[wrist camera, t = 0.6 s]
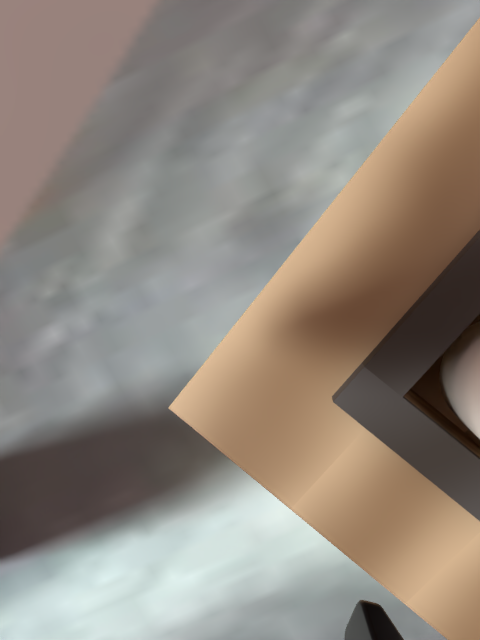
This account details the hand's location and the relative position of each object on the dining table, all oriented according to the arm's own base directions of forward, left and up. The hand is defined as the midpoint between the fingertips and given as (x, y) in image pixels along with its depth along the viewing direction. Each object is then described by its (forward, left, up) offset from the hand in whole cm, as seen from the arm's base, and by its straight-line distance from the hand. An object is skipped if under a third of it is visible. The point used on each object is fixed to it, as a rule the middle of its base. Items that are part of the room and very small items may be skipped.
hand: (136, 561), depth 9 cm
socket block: (-6, -8, -13) cm, 16 cm away
